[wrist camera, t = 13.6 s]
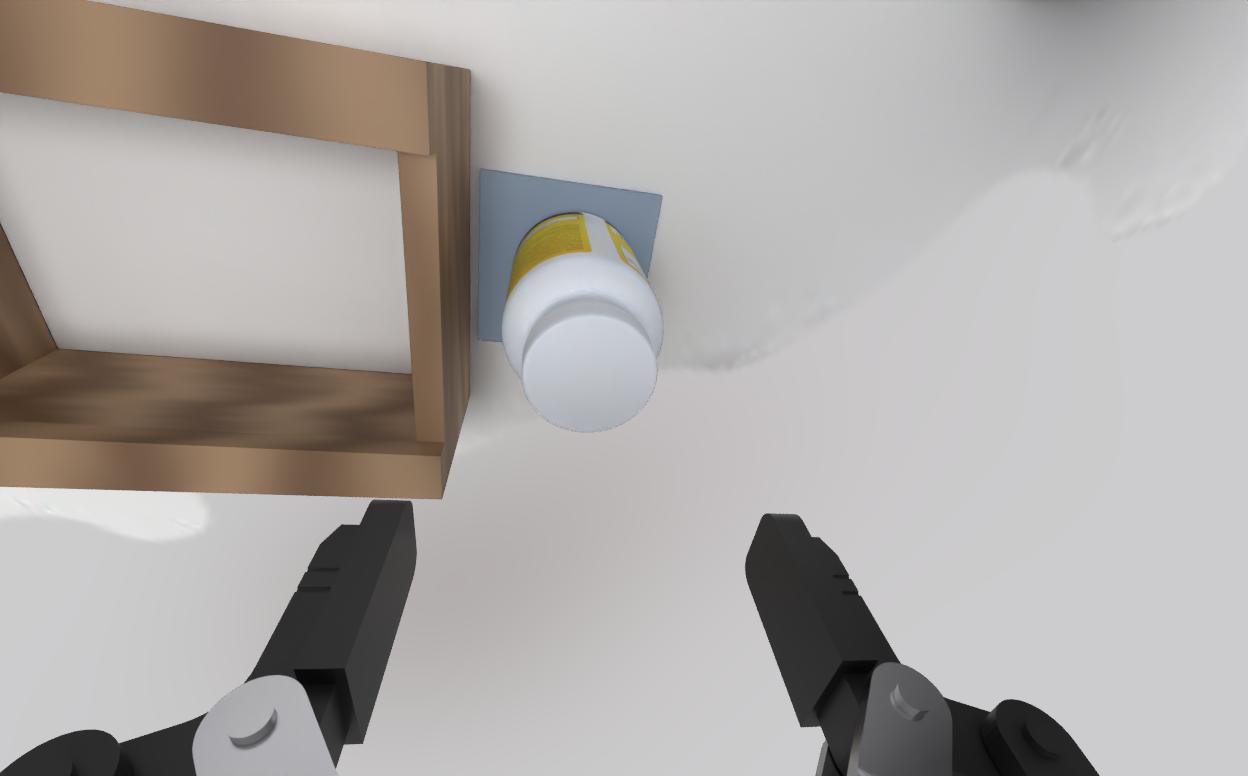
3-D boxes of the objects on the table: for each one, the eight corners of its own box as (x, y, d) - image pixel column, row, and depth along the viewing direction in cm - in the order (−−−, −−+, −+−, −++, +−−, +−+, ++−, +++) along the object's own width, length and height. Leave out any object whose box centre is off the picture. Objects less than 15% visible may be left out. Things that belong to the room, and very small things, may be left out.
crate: (470, 69, 22) (426, 61, 14) (469, 395, 30) (441, 499, 23) (-162, -45, 18) (-688, -141, 10) (39, 367, 26) (-169, 481, 19)
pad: (660, 194, 26) (662, 196, 25) (632, 350, 30) (633, 353, 30) (480, 168, 24) (479, 169, 24) (478, 337, 29) (478, 339, 28)
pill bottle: (489, 281, 27) (453, 398, 17) (561, 180, 24) (567, 244, 15) (587, 346, 29) (605, 479, 19) (659, 259, 27) (720, 359, 17)
